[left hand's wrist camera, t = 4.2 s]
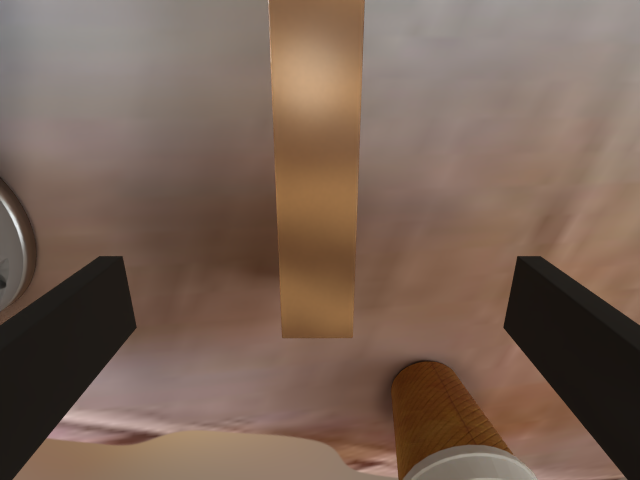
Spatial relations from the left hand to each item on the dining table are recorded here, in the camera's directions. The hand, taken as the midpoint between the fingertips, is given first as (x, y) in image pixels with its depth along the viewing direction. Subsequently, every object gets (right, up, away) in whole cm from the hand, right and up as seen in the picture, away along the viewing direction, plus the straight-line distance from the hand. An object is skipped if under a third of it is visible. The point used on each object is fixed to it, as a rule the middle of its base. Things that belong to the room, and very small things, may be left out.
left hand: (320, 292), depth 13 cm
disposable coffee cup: (+10, -12, +22) cm, 27 cm away
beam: (0, +33, +5) cm, 34 cm away
